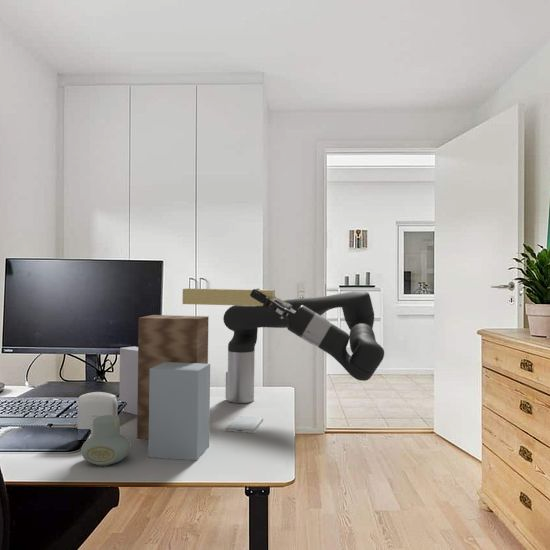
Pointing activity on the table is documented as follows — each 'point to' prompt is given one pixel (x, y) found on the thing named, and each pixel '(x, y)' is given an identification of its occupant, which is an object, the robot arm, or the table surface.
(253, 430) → the hard drive
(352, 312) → the robot arm
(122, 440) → the air freshener
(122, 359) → the game console
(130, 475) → the table surface
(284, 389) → the table surface
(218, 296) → the bar
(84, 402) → the photo printer
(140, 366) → the stand
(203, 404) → the block
